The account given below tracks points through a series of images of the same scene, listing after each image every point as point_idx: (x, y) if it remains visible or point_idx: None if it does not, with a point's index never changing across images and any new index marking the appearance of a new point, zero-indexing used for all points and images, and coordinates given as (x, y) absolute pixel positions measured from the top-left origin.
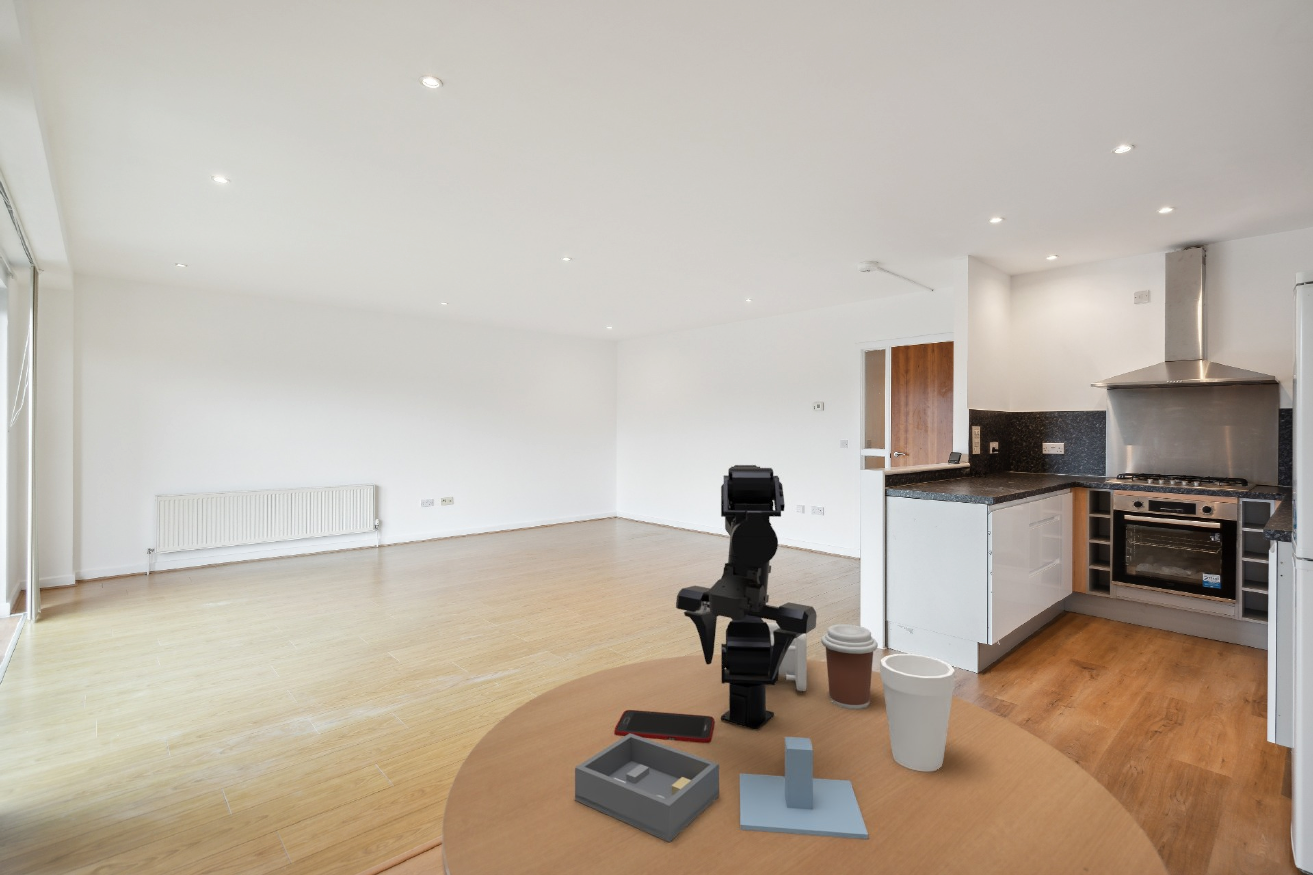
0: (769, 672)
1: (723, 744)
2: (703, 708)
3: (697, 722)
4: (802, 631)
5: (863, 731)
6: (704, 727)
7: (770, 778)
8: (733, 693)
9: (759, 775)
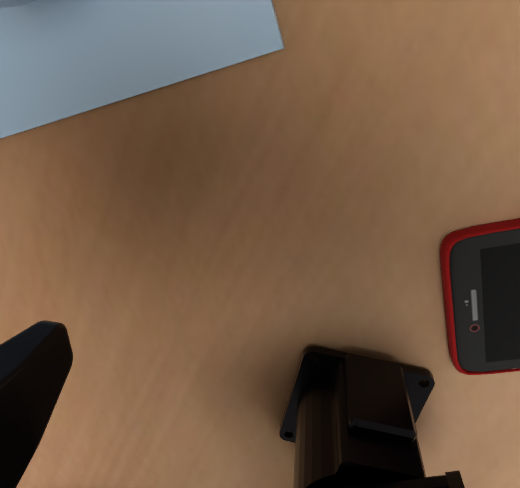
0: (31, 352)
1: (392, 239)
2: (501, 422)
3: (508, 330)
4: None
5: None
6: (477, 307)
7: (174, 60)
8: (401, 442)
9: (214, 63)
